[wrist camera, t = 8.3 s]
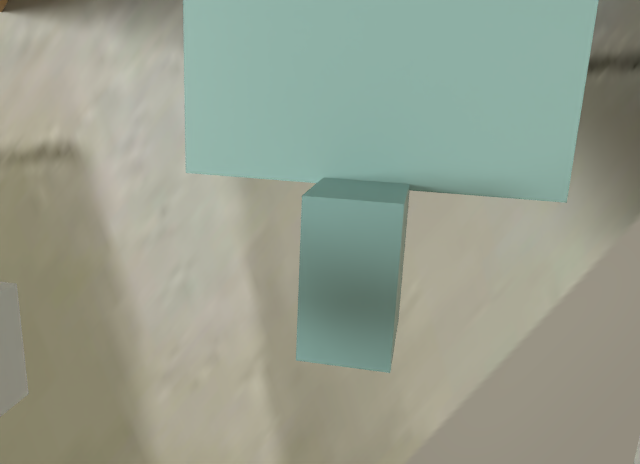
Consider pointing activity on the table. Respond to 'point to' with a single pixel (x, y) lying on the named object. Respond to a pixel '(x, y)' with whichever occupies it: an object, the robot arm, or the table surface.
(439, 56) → the lid
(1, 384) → the robot arm
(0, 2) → the sandwich container
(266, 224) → the table surface
